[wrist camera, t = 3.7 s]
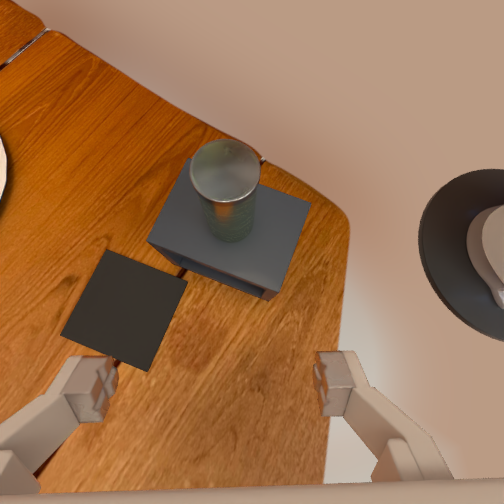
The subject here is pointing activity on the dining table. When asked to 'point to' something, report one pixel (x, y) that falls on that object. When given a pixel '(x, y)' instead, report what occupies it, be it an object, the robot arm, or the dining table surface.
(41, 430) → the robot arm
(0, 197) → the plate
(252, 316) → the dining table surface
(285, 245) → the shelf
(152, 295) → the mat
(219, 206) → the tin
